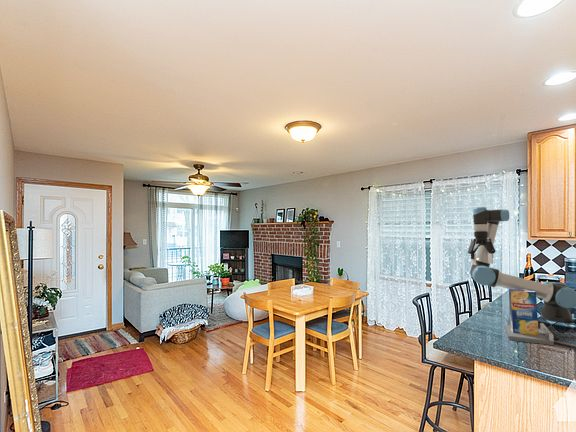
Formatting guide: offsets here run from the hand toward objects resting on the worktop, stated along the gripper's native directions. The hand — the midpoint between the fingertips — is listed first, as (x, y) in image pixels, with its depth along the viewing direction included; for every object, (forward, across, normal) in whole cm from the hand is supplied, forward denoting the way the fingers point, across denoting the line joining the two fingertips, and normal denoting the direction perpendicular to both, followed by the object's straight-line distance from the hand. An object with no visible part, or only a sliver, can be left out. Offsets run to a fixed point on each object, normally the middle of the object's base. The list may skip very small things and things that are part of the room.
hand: (482, 264), depth 204 cm
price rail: (+33, +4, +39) cm, 51 cm away
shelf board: (+35, +9, +34) cm, 49 cm away
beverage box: (+33, +10, +33) cm, 48 cm away
